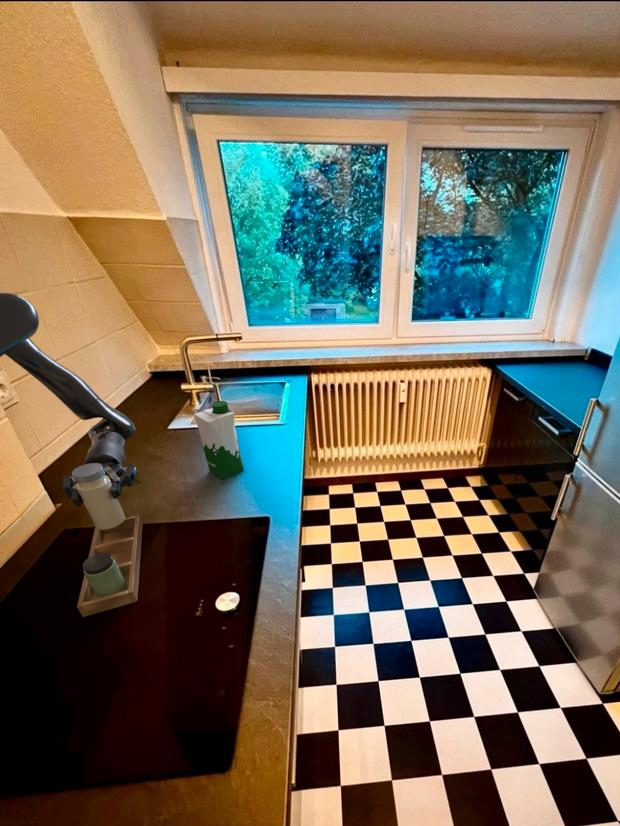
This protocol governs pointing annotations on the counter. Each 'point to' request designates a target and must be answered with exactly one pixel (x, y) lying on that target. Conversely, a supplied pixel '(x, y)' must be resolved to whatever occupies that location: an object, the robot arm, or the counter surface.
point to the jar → (98, 496)
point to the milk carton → (220, 440)
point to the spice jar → (104, 575)
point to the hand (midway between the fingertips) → (96, 498)
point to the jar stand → (126, 553)
